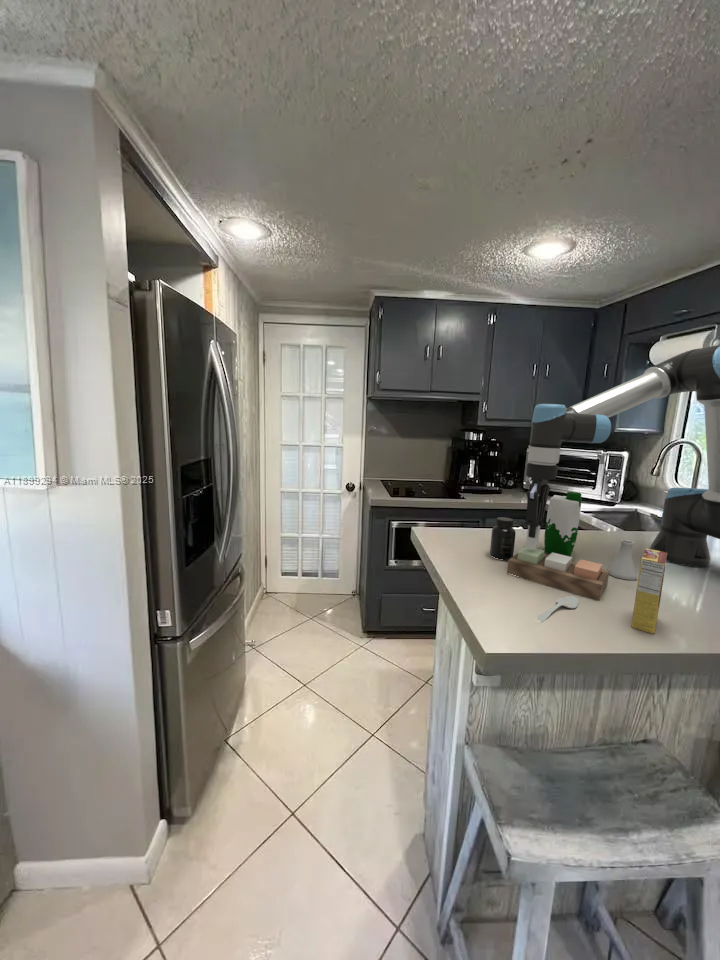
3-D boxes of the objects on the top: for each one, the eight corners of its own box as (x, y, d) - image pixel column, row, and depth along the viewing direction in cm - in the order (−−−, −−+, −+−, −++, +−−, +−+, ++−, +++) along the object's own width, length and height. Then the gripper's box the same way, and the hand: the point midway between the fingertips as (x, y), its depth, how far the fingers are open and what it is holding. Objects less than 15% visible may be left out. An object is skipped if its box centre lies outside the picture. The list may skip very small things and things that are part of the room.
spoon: (582, 606, 91) (583, 599, 91) (536, 633, 79) (537, 625, 79) (564, 599, 95) (565, 592, 94) (517, 624, 82) (518, 616, 82)
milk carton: (571, 559, 120) (581, 496, 117) (540, 552, 125) (548, 491, 122) (575, 552, 127) (584, 492, 124) (545, 545, 133) (553, 487, 129)
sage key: (542, 564, 110) (544, 550, 109) (535, 571, 105) (537, 556, 104) (524, 559, 113) (526, 546, 113) (516, 565, 108) (518, 552, 107)
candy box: (633, 611, 89) (645, 547, 86) (657, 618, 86) (669, 552, 84) (628, 626, 82) (641, 557, 80) (654, 635, 79) (667, 563, 77)
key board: (607, 585, 103) (609, 570, 102) (599, 600, 94) (601, 584, 93) (521, 562, 116) (522, 549, 116) (506, 573, 107) (508, 559, 107)
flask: (642, 582, 106) (648, 547, 104) (612, 579, 107) (618, 544, 105) (629, 572, 113) (635, 538, 111) (602, 569, 114) (607, 536, 112)
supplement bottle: (515, 556, 121) (519, 518, 119) (510, 562, 116) (514, 523, 113) (492, 551, 125) (496, 514, 123) (486, 557, 119) (490, 519, 117)
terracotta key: (600, 579, 101) (602, 564, 101) (595, 587, 96) (597, 572, 95) (578, 573, 105) (580, 559, 104) (572, 581, 99) (574, 566, 98)
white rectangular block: (570, 571, 106) (572, 557, 105) (564, 579, 100) (566, 564, 100) (550, 566, 109) (552, 552, 108) (543, 573, 104) (545, 558, 103)
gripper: (534, 460, 111) (524, 539, 115) (520, 463, 101) (509, 550, 106) (563, 463, 107) (552, 545, 111) (551, 466, 97) (538, 557, 101)
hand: (531, 547), depth 108 cm, fingers closed
